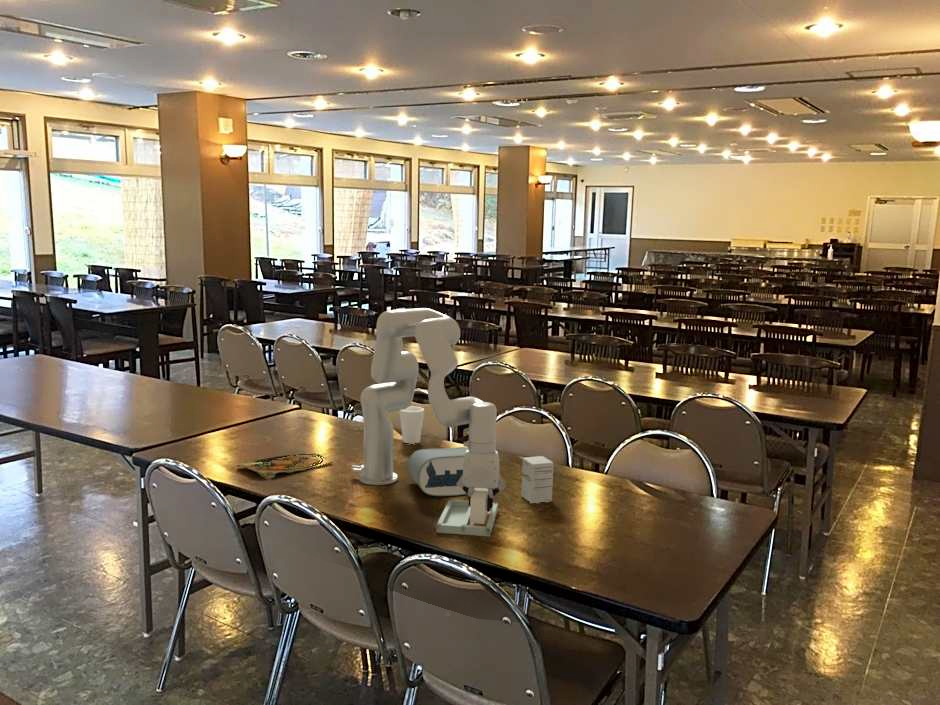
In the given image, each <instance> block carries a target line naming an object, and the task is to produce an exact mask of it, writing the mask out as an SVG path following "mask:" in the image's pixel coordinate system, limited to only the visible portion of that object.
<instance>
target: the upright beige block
mask: <svg viewBox="0 0 940 705" xmlns="http://www.w3.org/2000/svg"><path fill="white" fill-rule="evenodd" d="M488 495H489V493H488V489H486V488H475V489H474V491H473V494H472V496H471V499H470V523H479V524H485V521H486V518H487V515H488V511H487V498H488Z"/></svg>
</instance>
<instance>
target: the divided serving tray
mask: <svg viewBox="0 0 940 705" xmlns="http://www.w3.org/2000/svg"><path fill="white" fill-rule="evenodd" d="M498 509H499V503H498V502H493V507H492V508H490V511H489V512H488V515H487V518H486V521H485V524H479V523H470V506H469V500H462V499H450V498H449V499H448V501H447V503H446V504H445V507H444V509H443V511H442V513H441V514H440V517H439V519H438V521H437V523H436V533H441V534H451V535H452V534H455V535H464V536H465V535H467V536H477V537H478V536H479V537H491V533H492V531H493V527H494V523H495V521H496V518H495V517H497V514H498V511H499V510H498Z"/></svg>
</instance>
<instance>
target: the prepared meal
mask: <svg viewBox="0 0 940 705" xmlns="http://www.w3.org/2000/svg"><path fill="white" fill-rule="evenodd" d="M310 453H311V452H310ZM296 454H298V455H310V457H311V456H312V457H316V456H318V457H319V456H320V458H321V457H323V458H325V459H327V458H326V457H324V456H322V455H321V454H319V453H316V452H312V453H311V454H305V453H295V455H294V454H285V455H278V456H273V457H266V458H260V459H259V458H257V459H250V460H246V461H244V462H242V463H240V464H238V465H237V467H239V466H240V467H242V468H245V469H248V470H251V471H253V472H256V473H257V474H258V475H260V477H262V478H263V477H265V478H267V477H268V476H271V477H274V478H275V477H276V474H278V473H289V474H290V473H294V472H298V471H306V470H305V469H308V468H310V467H313V466H316V465H318V464H321V463H322V462H323V459H322V458H321V459H322V461H321V462H320V460H318V459H314V461H312V462H310V464H308V463H306V462H305V460H303V462H304V464H305V465H306V466H307V467H304V465H303V462H302V459H301V460H300V458H301V457H298V456H296ZM287 456H289V457H287ZM282 457H287V458H284V459H279V460H278V458H282ZM272 460H274V461H273V462H271V465H270V466H269V465H265V464H268V463H266V462H270V461H272ZM330 461H331V460H330ZM319 462H320V463H319ZM298 463H302V464H300V465H297V466H300V467H303V468H300V467H298V468H296V469H295V468H294V467H295V465H296V464H298ZM329 463H330V464H329V465H331V464H334V461H331V462H329ZM311 464H312V466H309V465H311ZM313 464H315V465H313ZM326 464H327V463H326ZM323 465H324V464H323ZM320 466H321V465H320ZM240 467H239V468H240ZM285 468H288V469H285Z"/></svg>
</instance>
